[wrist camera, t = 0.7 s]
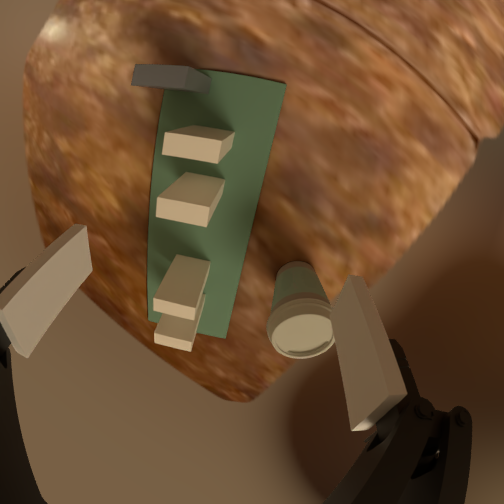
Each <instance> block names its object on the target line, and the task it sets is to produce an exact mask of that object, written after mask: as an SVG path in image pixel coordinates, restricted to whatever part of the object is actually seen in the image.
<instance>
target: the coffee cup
mask: <svg viewBox="0 0 504 504" xmlns="http://www.w3.org/2000/svg"><path fill="white" fill-rule="evenodd" d="M332 310H333V307H332V306H331V304H330V302H329V300H328V298H327V296H326V293H325V291H324V289H323V287H322V285H321V283H320V281H319V278H318V276H317V274H316V272H315V270H314V269H313V267H312V266H311V265H309V264H308V263H306V262H302V261H293V262H289V263H287V264H285V265H284V266H282V267H281V268H280V270H279V271H278V273H277V277H276V283H275V289H274V296H273V302H272V308H271V315H270V317H269V319H268V321H267V326H266V328H267V333H268V337H269V339H270V341H271V342H272V345H273V347H274V348H275V349H276V350H277V351H278V352H279V353H281V354H282V355H284V356H287V357H291V358H298V359H301V358H310V357H314V356H317V355H319V354H321V353H323V352H325V351H326V350H328V349H329V348H330V347H331V346H332V345H333V343H334V342H335V339H334V334H333V329H332V325H331V320H330V315H331V312H332Z"/></svg>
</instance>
